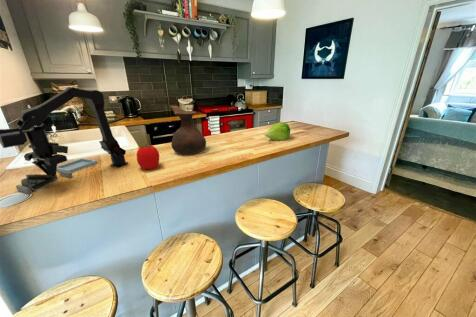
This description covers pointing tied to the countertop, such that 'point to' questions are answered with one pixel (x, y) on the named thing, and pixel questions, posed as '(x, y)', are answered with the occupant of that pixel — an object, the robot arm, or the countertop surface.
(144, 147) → the red apple
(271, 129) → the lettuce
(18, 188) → the bay rails
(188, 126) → the dark brown vase
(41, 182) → the dark piece
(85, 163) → the tray
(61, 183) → the countertop surface
